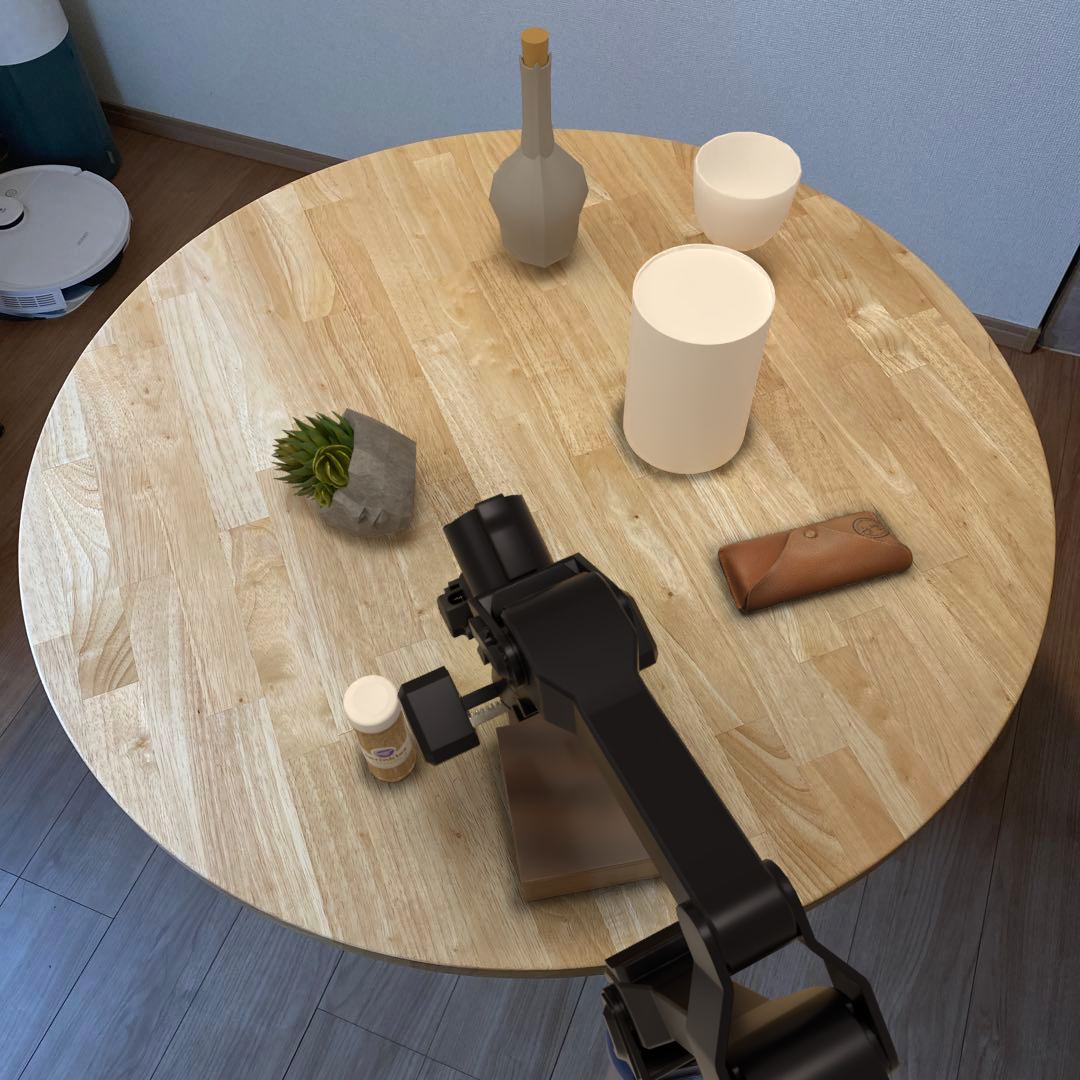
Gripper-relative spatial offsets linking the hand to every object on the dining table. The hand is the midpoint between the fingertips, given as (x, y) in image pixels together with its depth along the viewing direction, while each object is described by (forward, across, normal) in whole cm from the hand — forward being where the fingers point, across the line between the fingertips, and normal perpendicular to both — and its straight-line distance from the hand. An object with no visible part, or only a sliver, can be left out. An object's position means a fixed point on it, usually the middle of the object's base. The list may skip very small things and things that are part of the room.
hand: (517, 689), depth 84 cm
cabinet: (+11, -2, +11) cm, 16 cm away
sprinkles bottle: (+15, +11, 0) cm, 19 cm away
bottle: (+33, -30, -50) cm, 67 cm away
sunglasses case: (+15, -35, 0) cm, 38 cm away
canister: (+22, -33, -21) cm, 45 cm away
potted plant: (+24, +4, -26) cm, 36 cm away
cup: (+28, -49, -37) cm, 67 cm away
